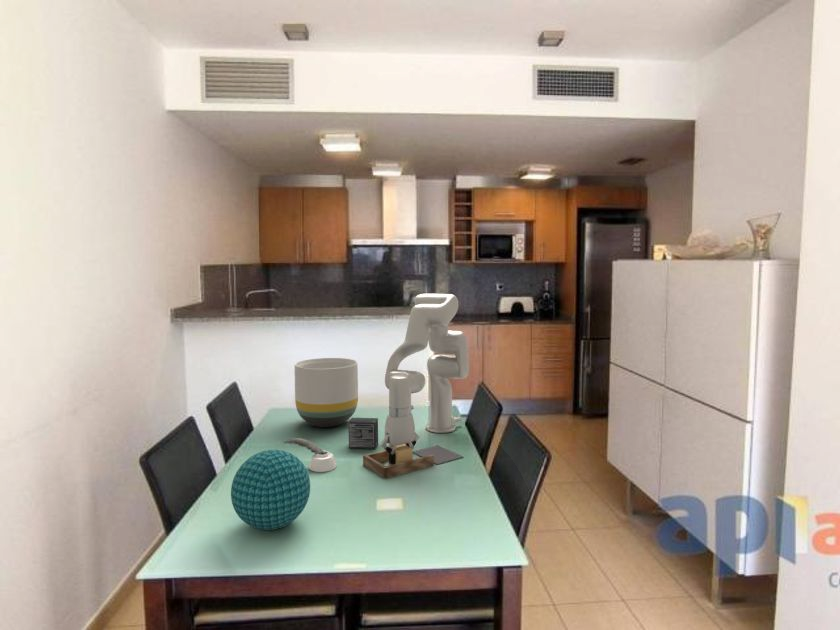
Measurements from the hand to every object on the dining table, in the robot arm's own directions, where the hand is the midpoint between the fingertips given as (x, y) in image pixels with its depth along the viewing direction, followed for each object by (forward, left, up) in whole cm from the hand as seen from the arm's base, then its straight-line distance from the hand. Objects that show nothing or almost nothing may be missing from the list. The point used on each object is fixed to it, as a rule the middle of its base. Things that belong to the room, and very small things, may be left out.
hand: (400, 461), depth 181 cm
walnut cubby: (0, 0, -1) cm, 1 cm away
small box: (+1, -24, -1) cm, 24 cm away
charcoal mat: (-16, 0, -1) cm, 16 cm away
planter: (0, -58, -1) cm, 58 cm away
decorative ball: (+51, +16, -1) cm, 53 cm away
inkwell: (+26, -16, -1) cm, 31 cm away
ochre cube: (0, 0, -1) cm, 1 cm away
